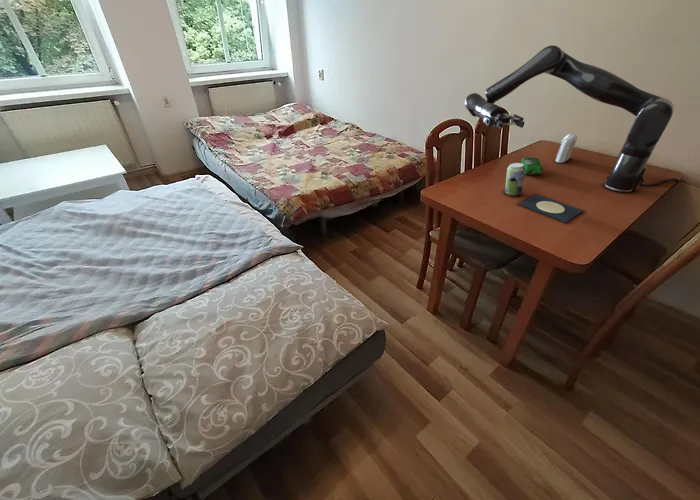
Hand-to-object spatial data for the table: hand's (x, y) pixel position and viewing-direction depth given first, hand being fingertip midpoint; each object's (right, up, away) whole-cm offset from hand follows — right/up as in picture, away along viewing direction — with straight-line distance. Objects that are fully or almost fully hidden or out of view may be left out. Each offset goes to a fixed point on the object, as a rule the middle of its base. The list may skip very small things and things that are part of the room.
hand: (512, 125), depth 124 cm
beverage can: (+2, -25, +5) cm, 26 cm away
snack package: (+19, -12, +23) cm, 32 cm away
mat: (+11, -32, -5) cm, 35 cm away
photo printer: (+41, -4, +34) cm, 54 cm away
